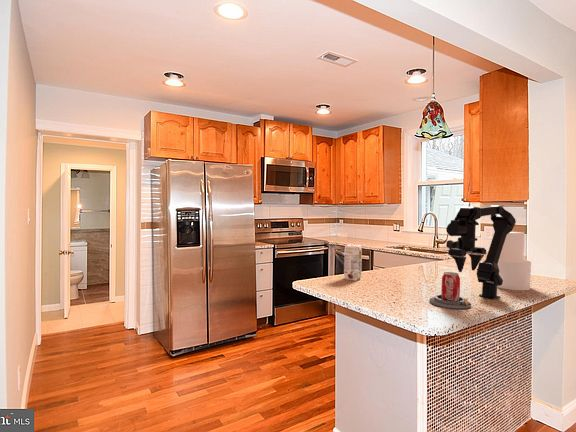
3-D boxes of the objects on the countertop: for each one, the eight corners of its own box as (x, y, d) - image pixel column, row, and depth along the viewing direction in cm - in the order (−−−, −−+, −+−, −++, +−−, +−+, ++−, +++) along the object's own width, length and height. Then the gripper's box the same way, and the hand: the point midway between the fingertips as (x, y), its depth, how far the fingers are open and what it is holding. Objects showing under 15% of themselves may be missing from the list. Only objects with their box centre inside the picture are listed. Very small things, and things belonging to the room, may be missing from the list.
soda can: (463, 303, 147) (463, 274, 147) (446, 303, 147) (447, 275, 146) (453, 299, 154) (454, 271, 154) (437, 299, 154) (438, 271, 153)
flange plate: (445, 297, 161) (445, 288, 161) (479, 306, 148) (479, 296, 147) (421, 301, 153) (421, 292, 153) (454, 311, 140) (455, 301, 139)
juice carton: (357, 281, 192) (357, 246, 191) (342, 279, 197) (343, 245, 196) (362, 279, 198) (363, 245, 198) (348, 277, 203) (348, 243, 202)
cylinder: (483, 283, 191) (485, 231, 190) (507, 281, 197) (509, 231, 196) (512, 291, 175) (514, 234, 174) (538, 289, 180) (540, 234, 179)
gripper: (464, 233, 167) (463, 266, 167) (437, 234, 157) (436, 269, 158) (487, 235, 157) (486, 270, 157) (461, 236, 148) (459, 274, 148)
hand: (466, 271), depth 156 cm, fingers open, 9 cm apart
